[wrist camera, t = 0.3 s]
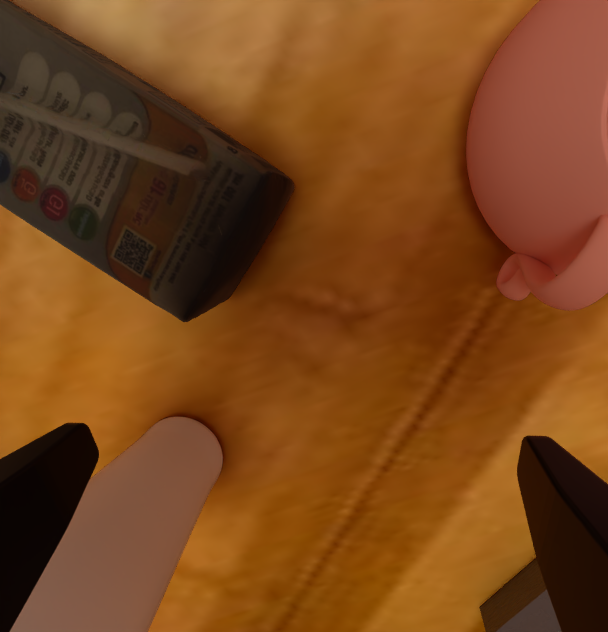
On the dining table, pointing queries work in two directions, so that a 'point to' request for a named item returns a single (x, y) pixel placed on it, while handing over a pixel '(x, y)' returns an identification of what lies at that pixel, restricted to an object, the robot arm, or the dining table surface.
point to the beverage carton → (127, 171)
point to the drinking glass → (127, 534)
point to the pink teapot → (547, 153)
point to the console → (521, 605)
